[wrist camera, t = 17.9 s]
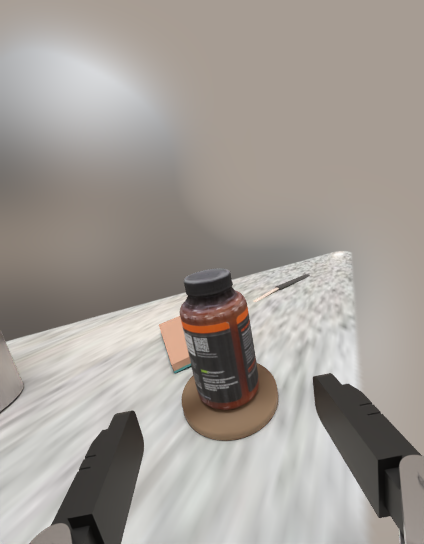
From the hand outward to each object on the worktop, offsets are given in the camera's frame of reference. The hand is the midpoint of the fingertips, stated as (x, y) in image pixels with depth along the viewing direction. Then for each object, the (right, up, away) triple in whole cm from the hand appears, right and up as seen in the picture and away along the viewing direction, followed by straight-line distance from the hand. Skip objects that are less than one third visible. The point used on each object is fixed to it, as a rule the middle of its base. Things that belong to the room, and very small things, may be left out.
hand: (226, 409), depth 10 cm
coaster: (+1, -6, +12) cm, 13 cm away
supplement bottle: (+1, -5, +12) cm, 13 cm away
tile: (-2, -4, +17) cm, 18 cm away
